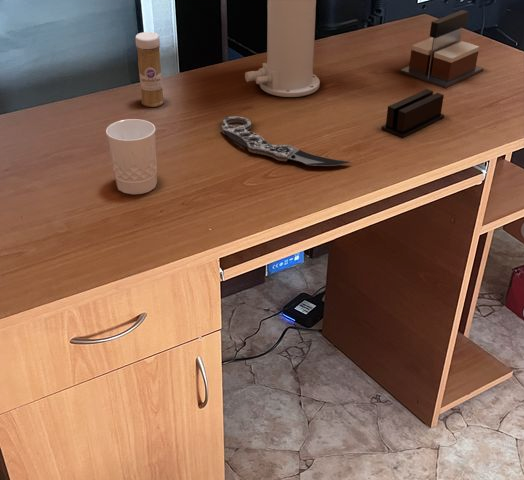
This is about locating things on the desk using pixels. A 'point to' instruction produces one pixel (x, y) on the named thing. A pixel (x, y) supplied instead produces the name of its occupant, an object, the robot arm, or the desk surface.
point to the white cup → (133, 155)
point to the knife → (270, 145)
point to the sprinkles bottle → (150, 68)
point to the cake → (443, 63)
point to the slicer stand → (414, 113)
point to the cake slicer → (446, 32)
